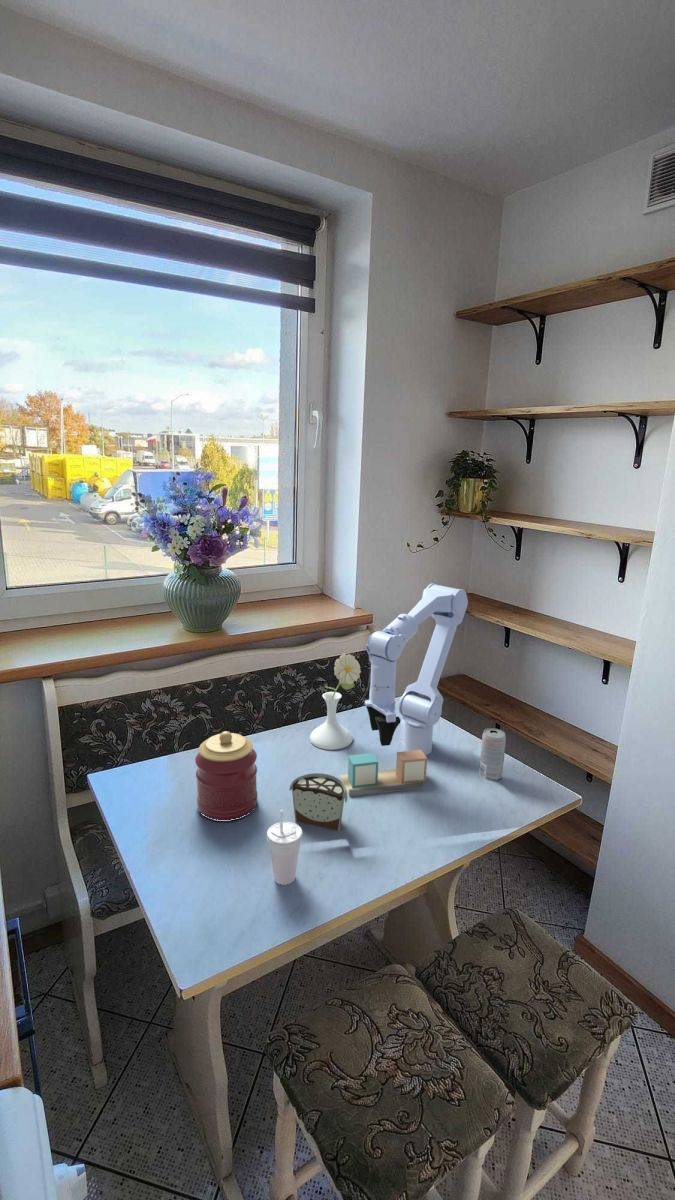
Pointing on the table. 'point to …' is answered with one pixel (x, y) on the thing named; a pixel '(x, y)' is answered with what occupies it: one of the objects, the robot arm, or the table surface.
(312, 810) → the food container
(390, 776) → the board
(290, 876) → the smoothie
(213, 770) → the canister
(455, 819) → the table surface
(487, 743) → the energy drink
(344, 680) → the flower in vase
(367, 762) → the teal box
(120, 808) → the table surface
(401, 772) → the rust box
